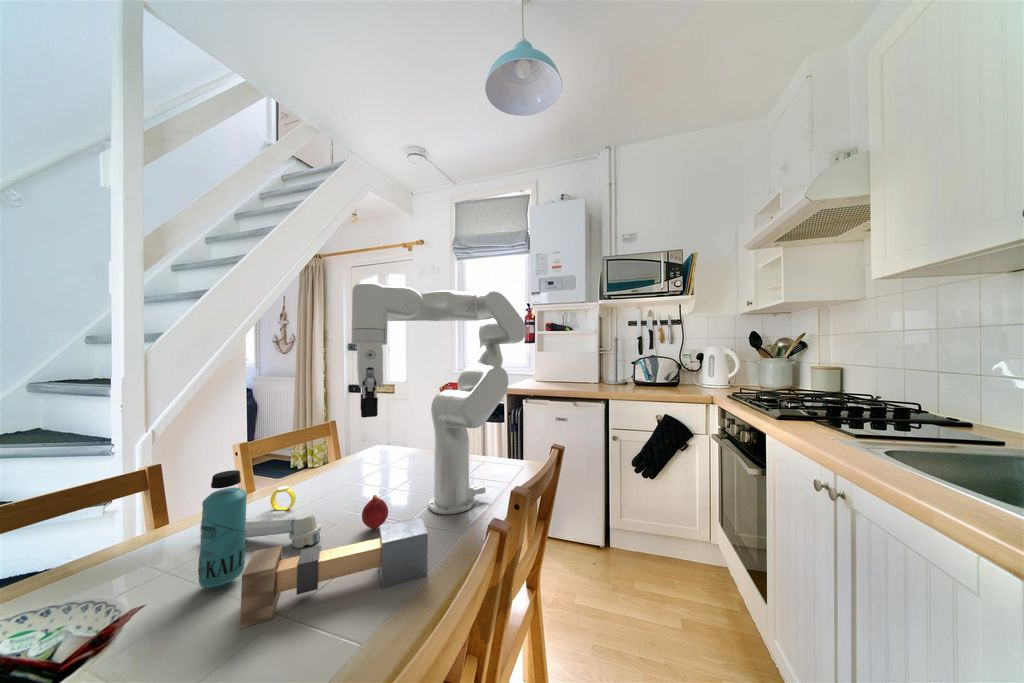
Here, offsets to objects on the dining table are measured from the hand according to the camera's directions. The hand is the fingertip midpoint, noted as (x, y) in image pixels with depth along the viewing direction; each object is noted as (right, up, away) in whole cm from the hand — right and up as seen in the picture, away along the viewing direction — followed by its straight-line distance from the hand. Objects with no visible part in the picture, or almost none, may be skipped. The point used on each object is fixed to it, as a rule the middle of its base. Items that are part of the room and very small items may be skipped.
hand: (368, 413), depth 75 cm
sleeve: (+11, -28, -11) cm, 32 cm away
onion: (0, -29, +4) cm, 29 cm away
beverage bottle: (-20, -28, -15) cm, 37 cm away
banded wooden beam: (0, -25, -17) cm, 31 cm away
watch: (-30, -29, +14) cm, 44 cm away
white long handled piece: (-23, -29, -1) cm, 37 cm away
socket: (-8, -27, -21) cm, 35 cm away
